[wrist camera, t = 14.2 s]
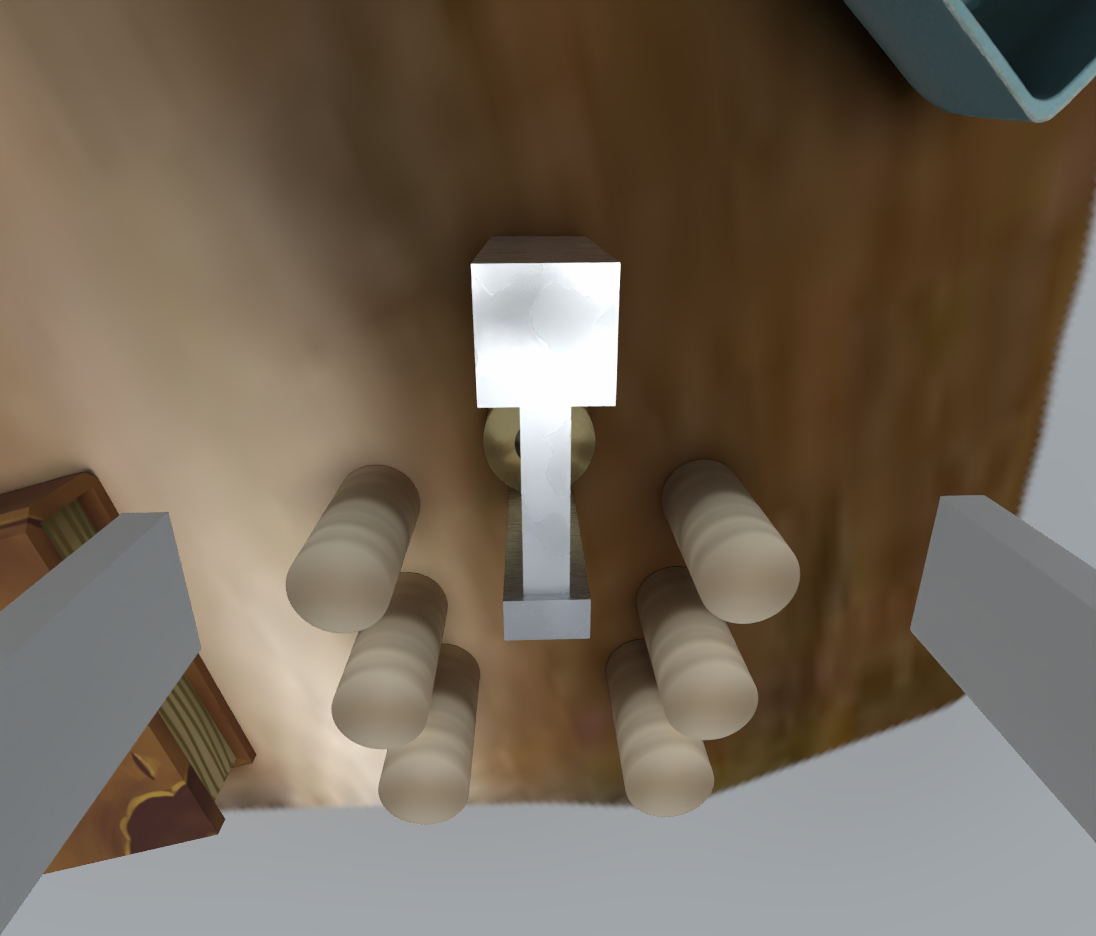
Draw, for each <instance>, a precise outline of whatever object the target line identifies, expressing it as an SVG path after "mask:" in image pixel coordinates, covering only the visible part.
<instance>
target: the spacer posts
mask: <svg viewBox="0 0 1096 936" xmlns="http://www.w3.org/2000/svg"><path fill="white" fill-rule="evenodd" d="M661 505H662V509H663V512H664V514H665V517H666V519H667V521H668V524H669V526H670V528H671V531H672V533H673V535H674V537H675V540H676V542H677V544H678V547H679V549H680V551H681V554H682V556H683V558H684V561H685V563H686V565H687V567H688V568H685V567H669V568H664V569H661V570H659V571H657V572H655V573H653V574H652V575H650V576H649V577H648V578H647V579H646V580H645V581H644V582H643V583H642V585H641V586H640V588H639V590H638V593H637V596H636V607H637V611H638V615H639V618H640V622H641V626H642V630H643V633H644V637H645V639H639V640H633V641H630V642H628V643H625V644H623V645H622V646H620V647H619V648H617V649H616V650H615V651H614V652H613V653H612V655H611V656H610V658H609V659H608V662H607V665H606V677H607V683H608V689H609V695H610V701H611V707H612V713H613V718H614V724H615V730H616V736H617V742H618V748H619V754H620V760H621V766H622V772H623V778H624V784H625V790H626V794H627V797H628V799H629V800H630V802H631V803H632V804H633V805H634V806H635V807H636V808H637V809H639V810H640V811H642V812H644V813H646V814H649V815H653V816H658V817H672V816H678V815H682V814H685V813H688V812H690V811H692V810H694V809H696V808H697V807H699V806H700V805H701V804H702V803H703V802H704V801H705V800H706V799H707V798H708V797H709V795H710V793H711V791H712V789H713V785H714V775H713V771H712V768H711V765H710V762H709V759H708V756H707V753H706V750H705V747H704V744H703V741H702V740H713V739H719V738H723V737H726V736H728V735H731V734H733V733H735V732H736V731H738V730H739V729H741V728H742V727H743V726H745V725H746V724H747V723H748V722H749V720H750V719H751V718H752V716H753V714H754V713H755V710H756V708H757V704H758V692H757V689H756V686H755V684H754V682H753V680H752V678H751V675H750V673H749V671H748V669H747V667H746V665H745V663H744V660H743V658H742V656H741V654H740V652H739V650H738V648H737V645H736V643H735V641H734V639H733V637H732V635H731V633H730V630H729V628H728V626H727V624H726V622H725V621H728V622H731V623H738V624H747V623H754V622H759V621H762V620H765V619H767V618H769V617H771V616H773V615H775V614H776V613H778V612H779V611H781V610H782V609H783V608H784V607H785V606H786V605H787V604H788V603H789V602H790V600H791V599H792V598H793V596H794V594H795V592H796V590H797V588H798V585H799V580H800V568H799V564H798V561H797V558H796V556H795V555H794V553H793V552H792V550H791V549H790V548H789V546H788V545H787V544H786V542H785V541H784V540H783V538H782V537H781V536H780V534H779V533H778V532H777V530H776V529H775V528H774V526H773V525H772V524H771V522H770V521H769V519H768V518H767V517H766V515H765V514H764V513H763V511H762V510H761V509H760V507H759V506H758V505H757V503H756V502H755V501H754V499H753V498H752V497H751V495H750V494H749V493H748V491H747V490H746V489H745V487H744V486H743V484H742V483H741V482H740V480H739V479H738V478H737V476H736V475H735V474H734V473H733V471H732V470H731V469H730V468H729V467H727V466H726V465H724V464H722V463H720V462H717V461H714V460H706V459H703V460H695V461H691V462H688V463H686V464H684V465H682V466H680V467H679V468H678V469H676V470H675V471H674V472H673V473H672V474H671V475H670V476H669V477H668V479H667V480H666V482H665V484H664V486H663V489H662V493H661ZM419 510H420V499H419V495H418V492H417V490H416V488H415V486H414V484H413V483H412V482H411V481H410V479H409V478H407V477H406V476H405V475H404V474H403V473H401V472H399V471H398V470H396V469H393V468H390V467H387V466H381V465H371V466H365V467H362V468H359V469H357V470H355V471H354V472H352V473H351V474H350V475H349V476H348V477H347V478H346V479H345V480H344V482H343V483H342V485H341V486H340V488H339V490H338V491H337V493H336V494H335V496H334V498H333V499H332V501H331V503H330V504H329V506H328V507H327V509H326V511H325V512H324V514H323V515H322V517H321V519H320V520H319V522H318V523H317V525H316V527H315V528H314V530H313V531H312V533H311V535H310V536H309V538H308V539H307V541H306V543H305V544H304V546H303V547H302V549H301V551H300V552H299V554H298V556H297V557H296V559H295V560H294V562H293V564H292V565H291V567H290V569H289V571H288V574H287V578H286V592H287V596H288V599H289V601H290V603H291V605H292V607H293V608H294V610H295V611H296V612H297V613H298V614H299V615H300V616H301V617H302V618H303V619H304V620H305V621H306V622H308V623H310V624H311V625H313V626H315V627H317V628H319V629H322V630H325V631H329V632H334V633H353V632H358V631H359V632H358V635H357V637H356V640H355V643H354V645H353V648H352V651H351V653H350V656H349V659H348V661H347V664H346V667H345V669H344V672H343V675H342V677H341V680H340V683H339V685H338V688H337V691H336V693H335V696H334V699H333V702H332V716H333V720H334V722H335V724H336V726H337V727H338V729H339V730H340V731H341V732H342V733H343V734H344V735H345V736H346V737H347V738H348V739H350V740H351V741H353V742H355V743H357V744H359V745H362V746H365V747H368V748H373V749H388V750H387V754H386V758H385V762H384V766H383V770H382V774H381V778H380V782H379V788H378V790H379V797H380V800H381V802H382V804H383V805H384V807H385V808H386V809H387V810H388V811H389V812H390V813H391V814H393V815H394V816H395V817H397V818H399V819H401V820H404V821H406V822H410V823H414V824H421V825H423V824H424V825H428V824H436V823H441V822H444V821H446V820H449V819H451V818H452V817H454V816H456V815H457V814H458V813H459V812H460V811H461V810H462V809H463V808H464V806H465V805H466V803H467V800H468V796H469V787H470V777H471V766H472V755H473V744H474V733H475V722H476V711H477V701H478V690H479V679H480V671H479V667H478V664H477V662H476V661H475V659H474V658H473V657H472V656H471V655H470V654H469V653H468V652H467V651H465V650H463V649H461V648H459V647H457V646H453V645H448V644H441V643H442V637H443V632H444V626H445V621H446V615H447V609H448V604H447V599H446V596H445V594H444V592H443V590H442V589H441V588H440V586H439V585H438V584H437V583H436V582H434V581H433V580H431V579H430V578H428V577H426V576H423V575H420V574H417V573H400V570H401V566H402V563H403V560H404V557H405V554H406V551H407V548H408V545H409V542H410V539H411V536H412V533H413V530H414V527H415V524H416V521H417V518H418V514H419Z"/></svg>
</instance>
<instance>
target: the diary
mask: <svg viewBox="0 0 1096 936" xmlns="http://www.w3.org/2000/svg"><path fill="white" fill-rule="evenodd" d="M118 516H119V514H118V512H117V510H116V508H115V507H114V505H113V503H112V501H111V500H110V498H109V496H108V494H107V493H106V491H105V489H104V488H103V486H102V484H101V482H100V481H99V479H98V478H97V477H95V476H92V475H90V474H87V473H84V472H82V473H79V474H75V475H72V476H68V477H64V478H61V479H57V480H54V481H50V482H46V483H43V484H39V485H36V486H32V487H28V488H25V489H21V490H18V491H14V492H10V493H7V494H3V495H0V611H1V610H3V609H4V608H5V607H6V606H8V605H9V604H10V603H11V602H13V601H14V600H15V599H16V598H18V597H19V596H20V595H21V594H23V593H24V592H25V591H26V590H27V589H29V588H30V587H31V586H32V585H34V584H35V583H36V582H37V581H39V580H40V579H41V578H42V577H44V576H45V575H46V574H47V573H49V572H50V571H51V570H52V569H53V568H55V567H56V566H57V565H58V564H60V563H61V562H62V561H63V560H65V559H66V558H67V557H68V556H70V555H71V554H72V553H73V552H75V551H76V550H77V549H78V548H80V547H81V546H82V545H83V544H84V543H86V542H87V541H88V540H89V539H91V538H92V537H93V536H94V535H96V534H97V533H98V532H99V531H101V530H102V529H103V528H104V527H106V526H107V525H108V524H109V523H111V522H112V521H113V520H114V519H115V518H117V517H118ZM255 757H256V753H255V751H254V750H253V748H252V746H251V744H250V743H249V741H248V739H247V737H246V736H245V734H244V732H243V730H242V729H241V727H240V725H239V723H238V722H237V720H236V718H235V716H234V715H233V713H232V711H231V709H230V708H229V706H228V704H227V702H226V701H225V699H224V697H223V695H222V694H221V692H220V690H219V688H218V687H217V685H216V683H215V681H214V680H213V678H212V676H211V674H210V673H209V671H208V669H207V667H206V666H205V664H204V662H203V660H202V659H201V657H200V655H199V653H198V654H197V655H196V657H195V658H194V660H193V661H192V662H191V664H190V665H189V667H188V668H187V670H186V671H185V672H184V674H183V675H182V677H181V678H180V680H179V681H178V682H177V684H176V685H175V687H174V688H173V690H172V691H171V692H170V694H169V695H168V697H167V698H166V700H165V701H164V702H163V704H162V705H161V707H160V708H159V709H158V711H157V712H156V714H155V715H154V717H153V718H152V719H151V721H150V722H149V724H148V725H147V727H146V728H145V729H144V731H143V732H142V734H141V735H140V737H139V738H138V739H137V741H136V742H135V744H134V745H133V746H132V748H131V749H130V751H129V752H128V754H127V755H126V756H125V758H124V759H123V761H122V762H121V764H120V765H119V766H118V768H117V769H116V771H115V772H114V774H113V775H112V776H111V778H110V779H109V781H108V782H107V784H106V785H105V786H104V788H103V789H102V791H101V792H100V793H99V795H98V796H97V798H96V799H95V801H94V802H93V803H92V805H91V806H90V808H89V809H88V811H87V812H86V813H85V815H84V816H83V818H82V819H81V821H80V822H79V823H78V825H77V826H76V828H75V829H74V830H73V832H72V833H71V835H70V836H69V838H68V839H67V840H66V842H65V843H64V845H63V846H62V848H61V849H60V850H59V852H58V853H57V855H56V856H55V858H54V859H53V860H52V862H51V863H50V865H49V866H48V867H47V869H46V870H45V872H44V873H43V874H46V873H51V872H55V871H60V870H64V869H68V868H73V867H76V866H81V865H86V864H90V863H95V862H99V861H103V860H108V859H112V858H116V857H121V856H125V855H130V854H134V853H138V852H143V851H147V850H151V849H156V848H160V847H165V846H169V845H173V844H178V843H182V842H186V841H191V840H195V839H200V838H204V837H208V836H212V835H217V834H218V833H219V831H220V829H221V827H222V825H223V823H224V821H225V818H224V816H223V815H222V813H221V812H220V810H219V808H218V807H217V805H216V804H215V802H214V801H215V799H216V797H217V795H218V793H219V791H220V789H221V787H222V785H223V783H224V781H225V780H226V778H227V776H228V774H229V772H230V770H231V768H234V767H238V766H242V765H247V764H251V763H253V761H254V759H255Z"/></svg>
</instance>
